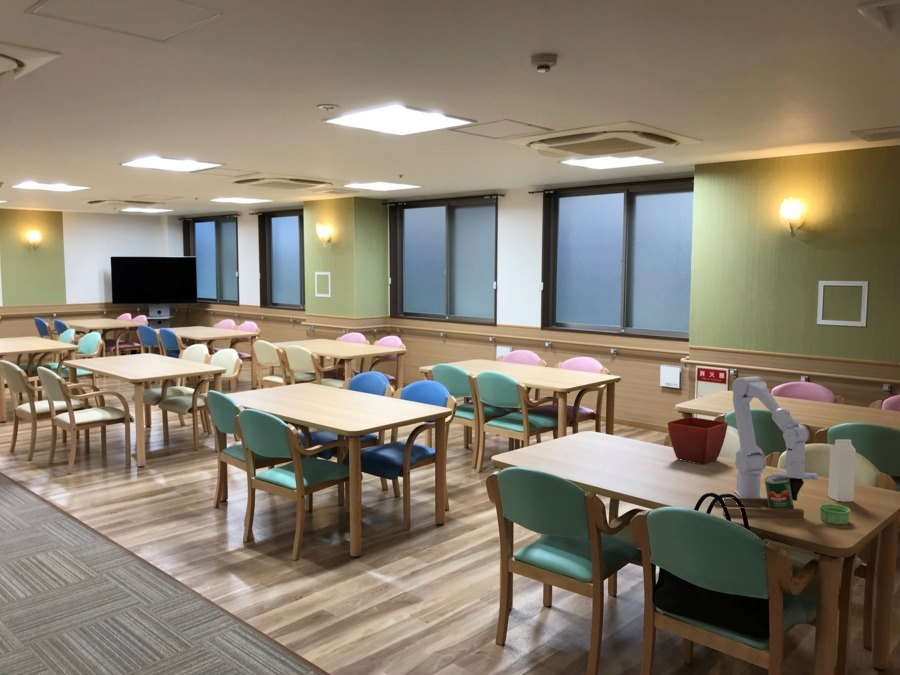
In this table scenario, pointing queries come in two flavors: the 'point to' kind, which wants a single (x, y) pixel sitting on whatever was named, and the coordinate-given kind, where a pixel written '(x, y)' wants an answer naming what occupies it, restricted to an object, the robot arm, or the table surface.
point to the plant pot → (697, 439)
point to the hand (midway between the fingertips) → (794, 499)
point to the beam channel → (759, 511)
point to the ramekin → (835, 513)
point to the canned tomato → (779, 493)
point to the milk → (842, 470)
